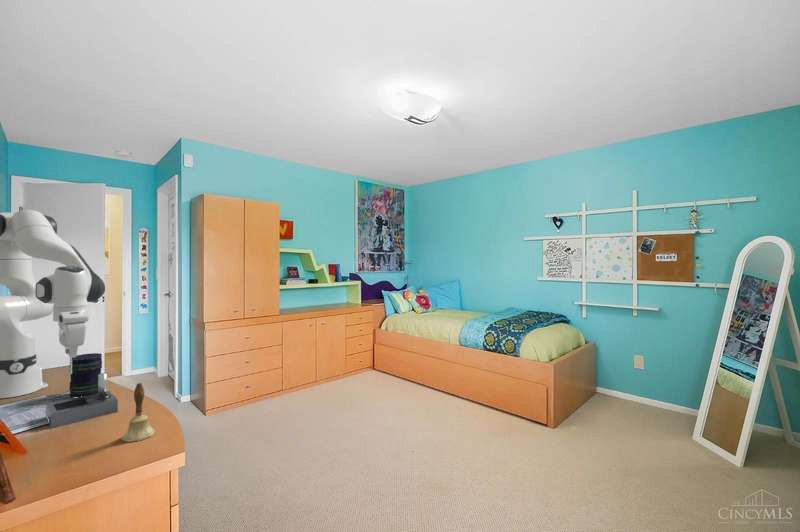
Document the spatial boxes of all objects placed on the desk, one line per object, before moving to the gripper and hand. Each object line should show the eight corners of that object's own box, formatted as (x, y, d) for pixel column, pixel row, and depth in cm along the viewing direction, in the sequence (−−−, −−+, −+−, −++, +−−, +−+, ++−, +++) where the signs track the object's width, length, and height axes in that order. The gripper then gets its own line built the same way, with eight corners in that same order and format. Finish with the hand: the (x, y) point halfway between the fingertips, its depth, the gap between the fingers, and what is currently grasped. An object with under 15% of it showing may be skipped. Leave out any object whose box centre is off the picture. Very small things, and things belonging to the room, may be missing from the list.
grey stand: (51, 428, 116) (51, 388, 115) (45, 417, 123) (45, 379, 123) (117, 411, 129) (117, 375, 129) (108, 402, 136) (108, 368, 136)
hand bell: (118, 436, 111) (118, 384, 111) (150, 426, 118) (150, 377, 117) (126, 445, 106) (126, 390, 106) (159, 435, 112) (159, 383, 112)
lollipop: (86, 372, 125) (86, 329, 125) (64, 377, 120) (64, 331, 119) (76, 370, 127) (76, 327, 127) (55, 374, 122) (55, 330, 122)
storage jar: (79, 399, 139) (80, 360, 139) (63, 396, 142) (63, 358, 142) (108, 391, 148) (108, 354, 148) (91, 388, 151) (91, 352, 151)
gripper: (53, 312, 127) (53, 351, 128) (63, 318, 114) (63, 362, 115) (77, 310, 132) (77, 348, 133) (89, 316, 119) (89, 358, 119)
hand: (71, 355), depth 123 cm, fingers closed on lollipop, 5 cm apart
